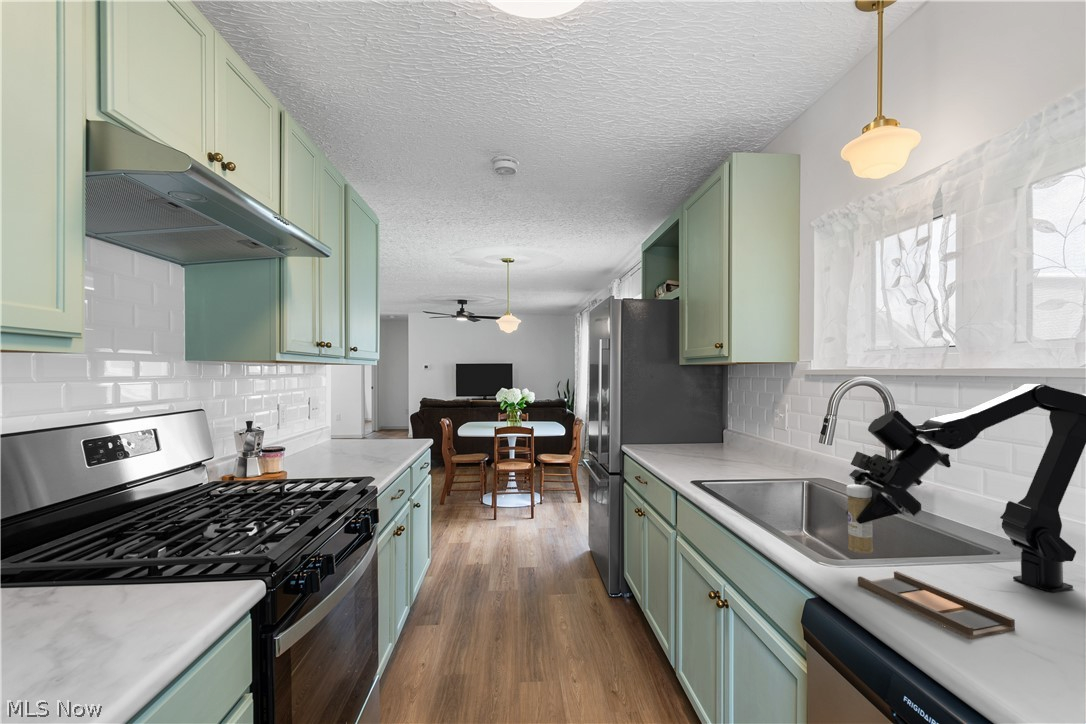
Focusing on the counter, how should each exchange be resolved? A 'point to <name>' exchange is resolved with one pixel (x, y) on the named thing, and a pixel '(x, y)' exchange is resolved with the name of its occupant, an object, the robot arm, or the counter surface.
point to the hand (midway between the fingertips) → (852, 518)
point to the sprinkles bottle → (857, 532)
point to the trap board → (939, 606)
